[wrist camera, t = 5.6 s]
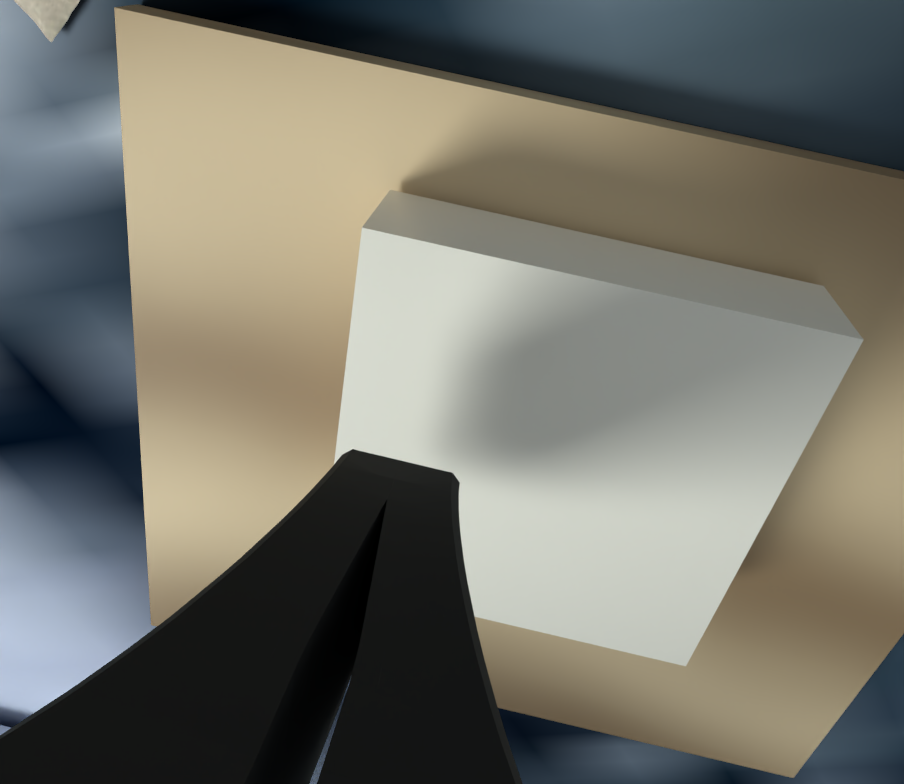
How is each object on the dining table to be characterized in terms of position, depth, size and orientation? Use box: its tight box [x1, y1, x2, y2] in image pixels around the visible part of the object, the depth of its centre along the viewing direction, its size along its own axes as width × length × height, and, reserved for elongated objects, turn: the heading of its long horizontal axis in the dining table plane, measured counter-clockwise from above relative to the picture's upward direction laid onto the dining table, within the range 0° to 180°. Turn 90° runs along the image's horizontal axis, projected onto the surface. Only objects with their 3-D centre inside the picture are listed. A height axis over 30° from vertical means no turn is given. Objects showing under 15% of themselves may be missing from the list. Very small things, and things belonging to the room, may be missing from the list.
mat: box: [114, 4, 904, 778], centre depth 13 cm, size 12×14×1 cm
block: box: [334, 190, 864, 666], centre depth 11 cm, size 6×2×6 cm
